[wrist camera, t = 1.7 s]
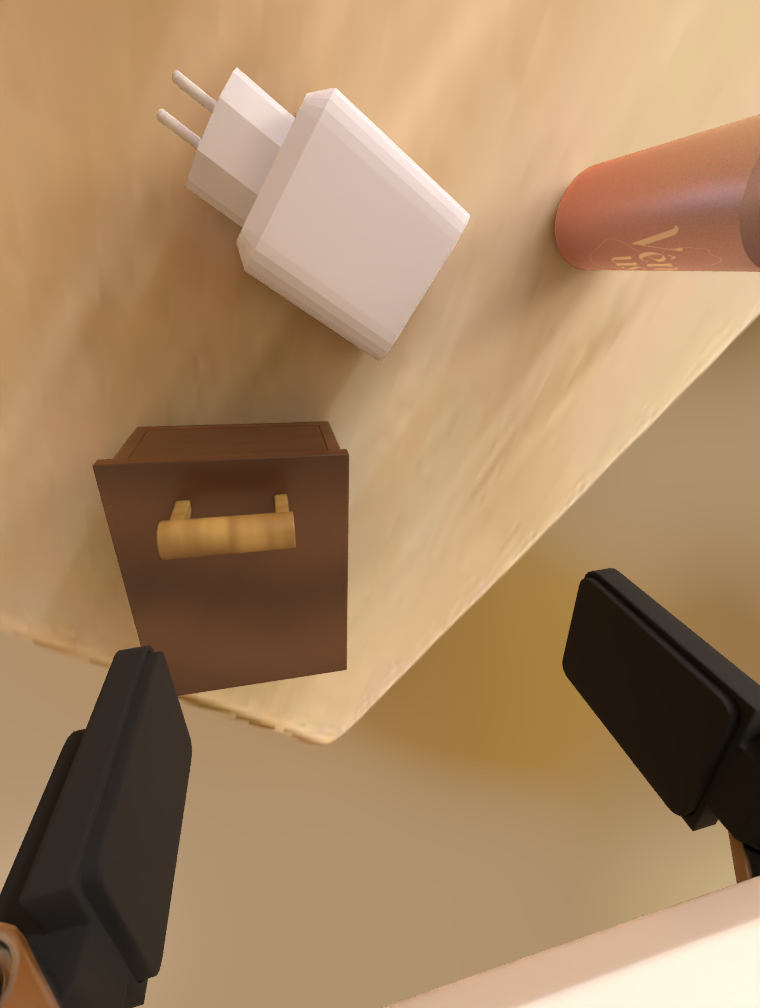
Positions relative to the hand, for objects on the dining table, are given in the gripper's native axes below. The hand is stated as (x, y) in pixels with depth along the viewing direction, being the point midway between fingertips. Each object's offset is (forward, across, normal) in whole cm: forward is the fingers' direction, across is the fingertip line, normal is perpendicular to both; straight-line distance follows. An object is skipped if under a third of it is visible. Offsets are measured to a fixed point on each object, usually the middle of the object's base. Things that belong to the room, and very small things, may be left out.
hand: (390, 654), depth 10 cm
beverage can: (+24, -20, -11) cm, 33 cm away
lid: (+17, +5, +9) cm, 20 cm away
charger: (+24, -1, -11) cm, 27 cm away
